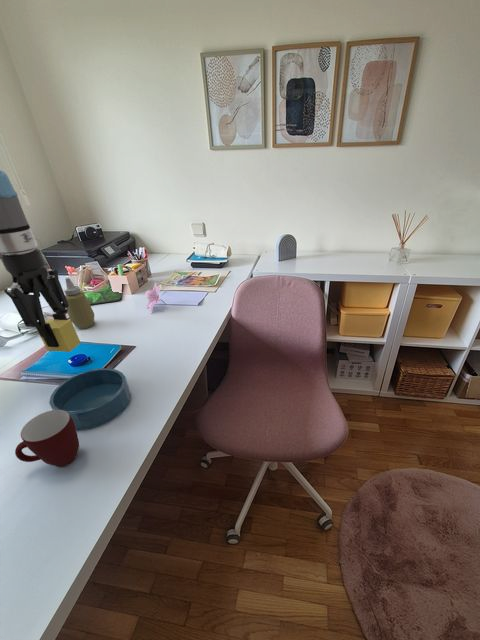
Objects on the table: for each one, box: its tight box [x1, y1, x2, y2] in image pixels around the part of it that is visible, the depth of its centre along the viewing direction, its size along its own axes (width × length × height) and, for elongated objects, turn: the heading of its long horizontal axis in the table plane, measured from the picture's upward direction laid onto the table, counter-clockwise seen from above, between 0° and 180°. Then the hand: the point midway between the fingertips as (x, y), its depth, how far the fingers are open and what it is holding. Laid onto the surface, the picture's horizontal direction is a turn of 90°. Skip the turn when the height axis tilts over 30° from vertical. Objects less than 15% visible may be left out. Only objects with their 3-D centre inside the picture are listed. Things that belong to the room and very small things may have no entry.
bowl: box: [48, 367, 132, 431], centre depth 74 cm, size 17×17×5 cm
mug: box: [14, 409, 80, 468], centre depth 58 cm, size 11×8×10 cm
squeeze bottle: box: [63, 277, 95, 330], centre depth 106 cm, size 8×8×18 cm
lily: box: [145, 282, 167, 314], centre depth 120 cm, size 12×12×10 cm
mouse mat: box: [80, 284, 123, 306], centre depth 136 cm, size 27×22×1 cm
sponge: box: [35, 318, 82, 353], centre depth 78 cm, size 6×4×7 cm
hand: (60, 340), depth 79 cm, fingers closed on sponge, 4 cm apart
